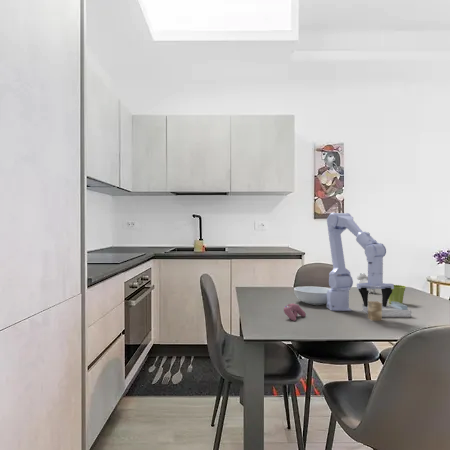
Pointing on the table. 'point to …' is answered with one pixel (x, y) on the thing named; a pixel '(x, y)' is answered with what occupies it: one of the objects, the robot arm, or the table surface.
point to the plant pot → (397, 294)
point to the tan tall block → (374, 310)
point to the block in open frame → (393, 310)
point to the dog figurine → (364, 280)
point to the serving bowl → (312, 294)
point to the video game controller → (293, 311)
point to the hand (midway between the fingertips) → (375, 306)
